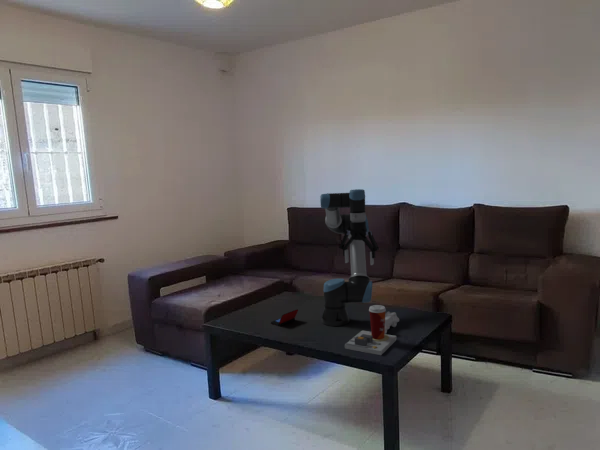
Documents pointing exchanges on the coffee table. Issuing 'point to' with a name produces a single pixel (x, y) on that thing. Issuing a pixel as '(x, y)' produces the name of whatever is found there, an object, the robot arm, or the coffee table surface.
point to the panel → (371, 343)
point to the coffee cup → (377, 321)
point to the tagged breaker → (361, 341)
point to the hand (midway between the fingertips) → (359, 263)
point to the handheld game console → (285, 318)
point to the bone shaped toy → (390, 320)
